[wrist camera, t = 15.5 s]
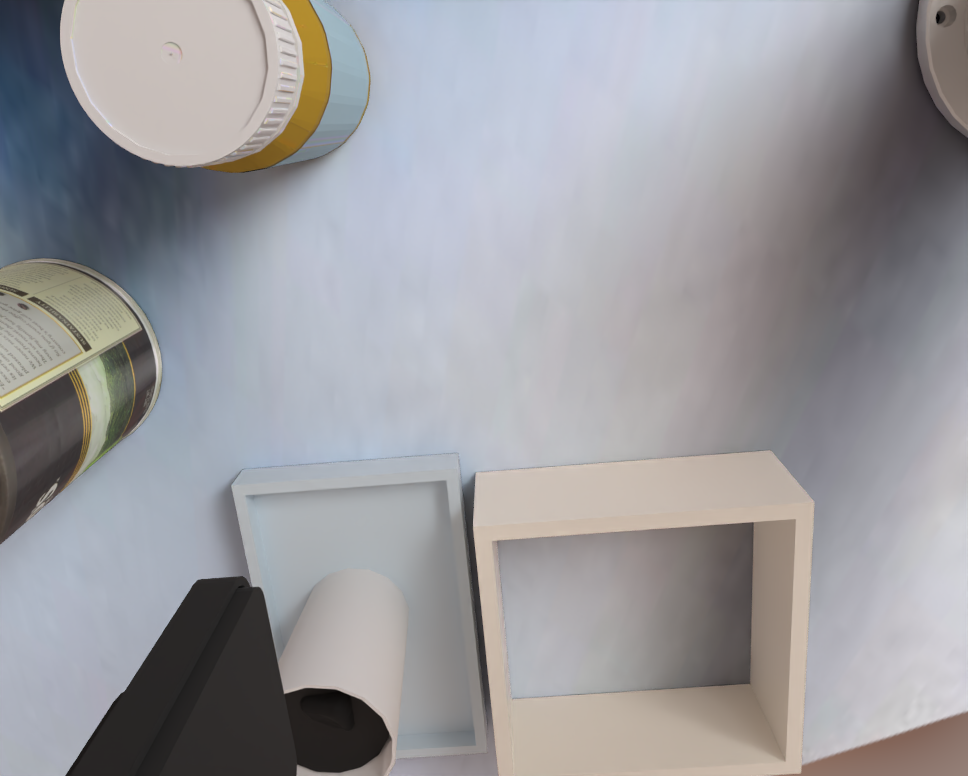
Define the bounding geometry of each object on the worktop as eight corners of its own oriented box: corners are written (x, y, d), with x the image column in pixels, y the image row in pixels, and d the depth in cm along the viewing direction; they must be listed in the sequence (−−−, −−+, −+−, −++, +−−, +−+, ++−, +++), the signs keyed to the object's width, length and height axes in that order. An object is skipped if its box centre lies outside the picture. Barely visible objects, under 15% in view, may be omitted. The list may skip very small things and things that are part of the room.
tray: (458, 452, 42) (456, 468, 40) (487, 728, 48) (487, 753, 46) (242, 469, 43) (231, 485, 41) (297, 740, 48) (288, 765, 46)
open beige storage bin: (770, 450, 42) (814, 502, 36) (763, 694, 47) (800, 773, 41) (475, 472, 42) (472, 526, 37) (499, 710, 47) (500, 791, 42)
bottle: (404, 77, 36) (346, 49, 22) (305, 190, 38) (192, 233, 24) (286, -42, 35) (142, -154, 21) (188, 81, 36) (-7, 56, 22)
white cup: (287, 567, 44) (229, 692, 34) (407, 554, 43) (382, 676, 34) (310, 668, 46) (263, 812, 36) (425, 656, 45) (408, 798, 36)
